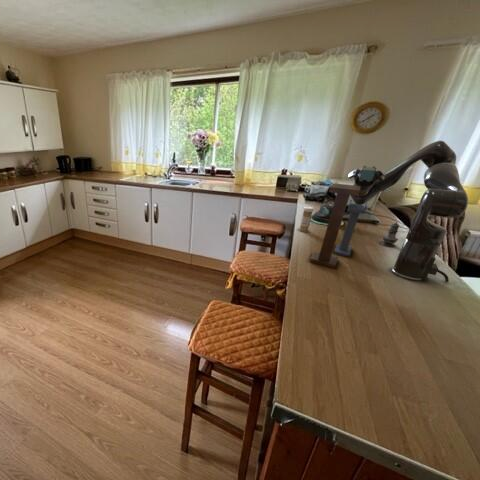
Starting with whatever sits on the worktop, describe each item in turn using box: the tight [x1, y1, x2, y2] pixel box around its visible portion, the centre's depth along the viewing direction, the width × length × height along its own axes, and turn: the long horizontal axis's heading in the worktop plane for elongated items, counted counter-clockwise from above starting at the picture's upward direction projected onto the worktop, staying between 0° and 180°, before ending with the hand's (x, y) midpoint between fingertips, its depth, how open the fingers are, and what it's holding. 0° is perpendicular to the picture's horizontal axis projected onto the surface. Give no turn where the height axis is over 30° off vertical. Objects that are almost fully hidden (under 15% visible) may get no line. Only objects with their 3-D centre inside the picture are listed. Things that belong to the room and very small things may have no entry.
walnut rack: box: [309, 183, 361, 269], centre depth 103 cm, size 9×10×32 cm
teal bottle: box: [359, 166, 376, 181], centre depth 108 cm, size 4×19×4 cm, turn 142°
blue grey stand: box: [333, 199, 368, 258], centre depth 114 cm, size 6×10×23 cm, turn 142°
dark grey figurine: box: [380, 221, 400, 248], centre depth 124 cm, size 6×6×12 cm
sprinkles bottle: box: [298, 206, 314, 233], centre depth 141 cm, size 5×5×14 cm
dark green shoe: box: [310, 204, 344, 226], centre depth 160 cm, size 15×19×20 cm
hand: (368, 168), depth 109 cm, fingers closed on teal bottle, 2 cm apart
